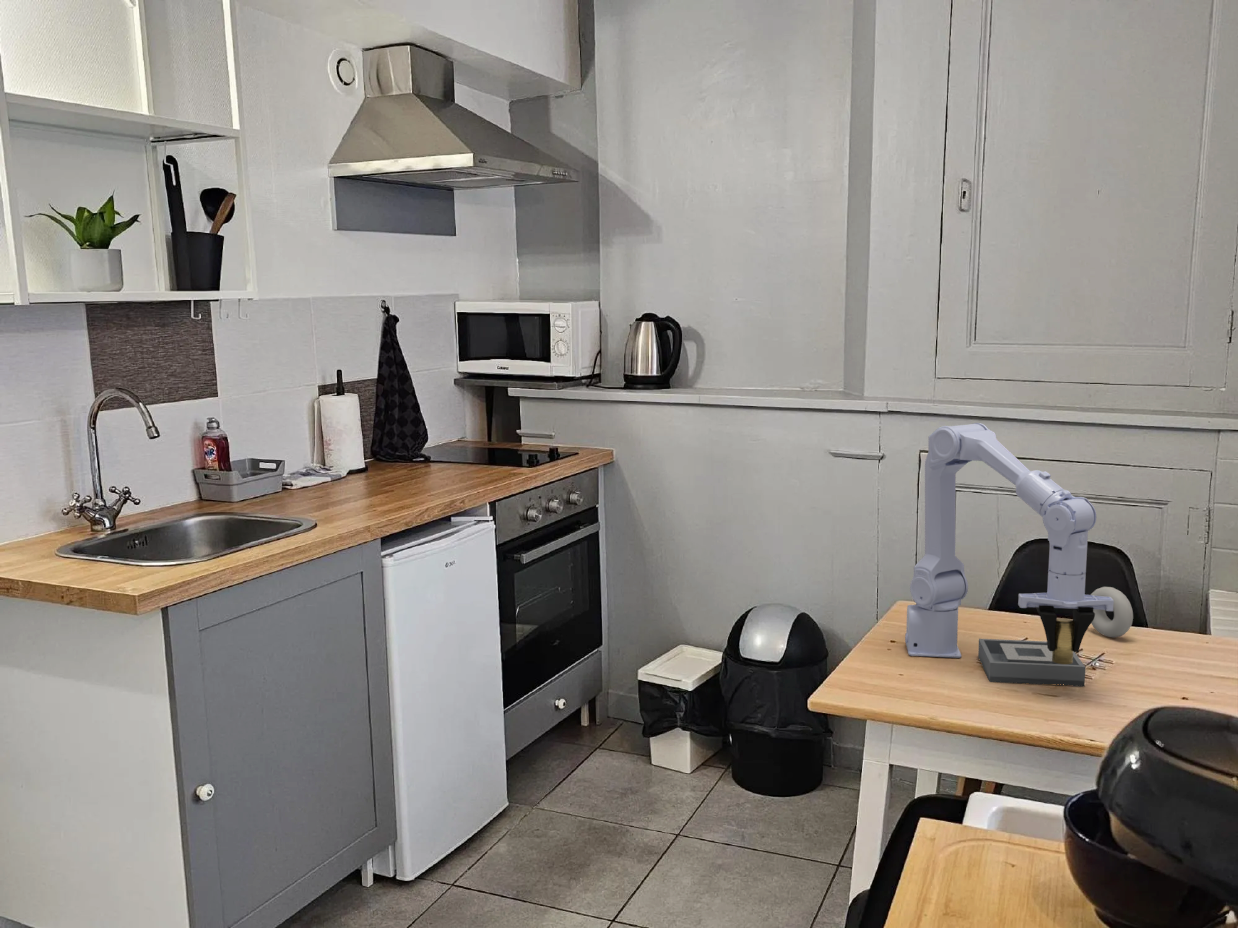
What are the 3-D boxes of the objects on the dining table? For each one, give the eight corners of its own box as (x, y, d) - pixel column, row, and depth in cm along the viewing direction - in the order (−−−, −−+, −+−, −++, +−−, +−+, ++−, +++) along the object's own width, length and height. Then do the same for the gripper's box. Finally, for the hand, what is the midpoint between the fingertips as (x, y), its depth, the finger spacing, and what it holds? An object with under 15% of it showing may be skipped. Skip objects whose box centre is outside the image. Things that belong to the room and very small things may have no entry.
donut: (1081, 630, 213) (1084, 582, 211) (1094, 628, 214) (1096, 580, 213) (1122, 644, 204) (1125, 594, 202) (1135, 642, 205) (1138, 592, 203)
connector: (1054, 663, 176) (1056, 623, 175) (1050, 657, 179) (1052, 617, 178) (1074, 664, 176) (1076, 624, 174) (1070, 658, 179) (1072, 618, 178)
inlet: (1007, 672, 186) (1007, 659, 186) (998, 656, 195) (999, 643, 195) (1061, 675, 185) (1062, 661, 184) (1050, 658, 193) (1051, 645, 193)
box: (989, 681, 185) (990, 662, 184) (978, 656, 198) (978, 638, 197) (1084, 686, 182) (1085, 666, 181) (1066, 660, 195) (1067, 642, 195)
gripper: (1025, 575, 173) (1021, 655, 175) (1120, 578, 170) (1115, 659, 172) (1017, 565, 179) (1014, 642, 181) (1108, 567, 177) (1104, 646, 179)
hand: (1062, 649), depth 177 cm, fingers closed on connector, 3 cm apart
